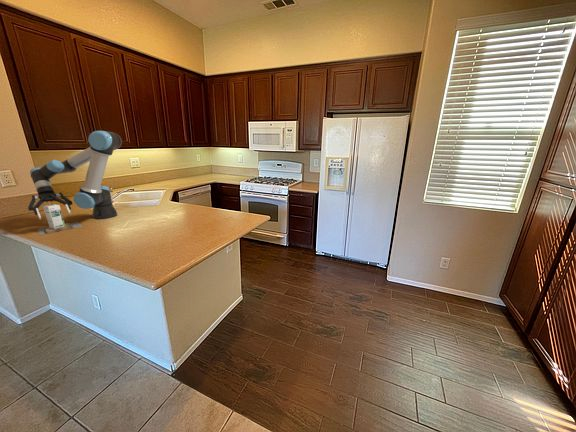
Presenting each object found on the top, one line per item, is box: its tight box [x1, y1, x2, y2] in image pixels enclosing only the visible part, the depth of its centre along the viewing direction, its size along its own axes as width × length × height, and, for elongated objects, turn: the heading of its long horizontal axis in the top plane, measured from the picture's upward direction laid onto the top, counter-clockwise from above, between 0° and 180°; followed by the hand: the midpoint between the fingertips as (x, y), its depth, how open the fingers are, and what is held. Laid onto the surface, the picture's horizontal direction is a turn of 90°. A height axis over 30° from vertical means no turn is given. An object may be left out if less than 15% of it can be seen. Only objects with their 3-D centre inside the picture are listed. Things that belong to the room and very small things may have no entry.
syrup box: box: [42, 203, 65, 229], centre depth 150 cm, size 6×6×14 cm
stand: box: [43, 222, 74, 234], centre depth 152 cm, size 12×12×1 cm
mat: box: [37, 221, 84, 236], centre depth 154 cm, size 20×14×1 cm
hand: (55, 215), depth 148 cm, fingers open, 13 cm apart
